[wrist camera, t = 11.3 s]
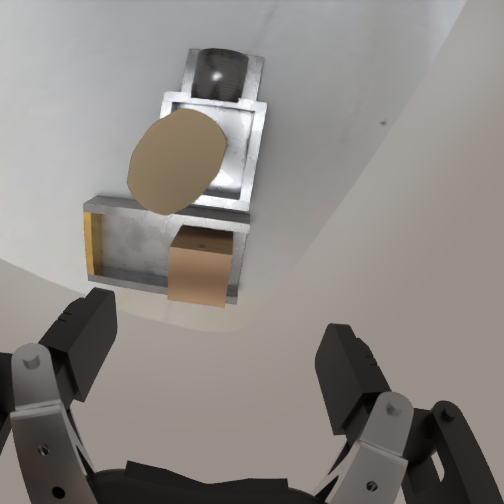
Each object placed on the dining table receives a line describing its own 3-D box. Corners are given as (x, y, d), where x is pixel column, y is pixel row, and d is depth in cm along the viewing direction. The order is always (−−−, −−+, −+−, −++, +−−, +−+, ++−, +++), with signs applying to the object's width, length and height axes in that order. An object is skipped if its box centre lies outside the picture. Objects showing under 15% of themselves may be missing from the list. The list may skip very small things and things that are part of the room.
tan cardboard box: (181, 225, 32) (169, 245, 26) (233, 232, 33) (232, 254, 27) (177, 273, 34) (167, 300, 29) (226, 280, 35) (224, 308, 30)
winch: (181, 50, 25) (171, 36, 20) (272, 61, 26) (279, 48, 21) (161, 190, 32) (146, 202, 26) (247, 201, 33) (248, 215, 28)
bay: (96, 195, 31) (83, 203, 28) (249, 214, 33) (250, 224, 30) (98, 268, 35) (88, 280, 32) (236, 289, 37) (236, 304, 34)
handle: (246, 139, 29) (243, 144, 15) (208, 185, 30) (173, 230, 17) (211, 111, 27) (176, 92, 14) (173, 158, 29) (112, 182, 15)
